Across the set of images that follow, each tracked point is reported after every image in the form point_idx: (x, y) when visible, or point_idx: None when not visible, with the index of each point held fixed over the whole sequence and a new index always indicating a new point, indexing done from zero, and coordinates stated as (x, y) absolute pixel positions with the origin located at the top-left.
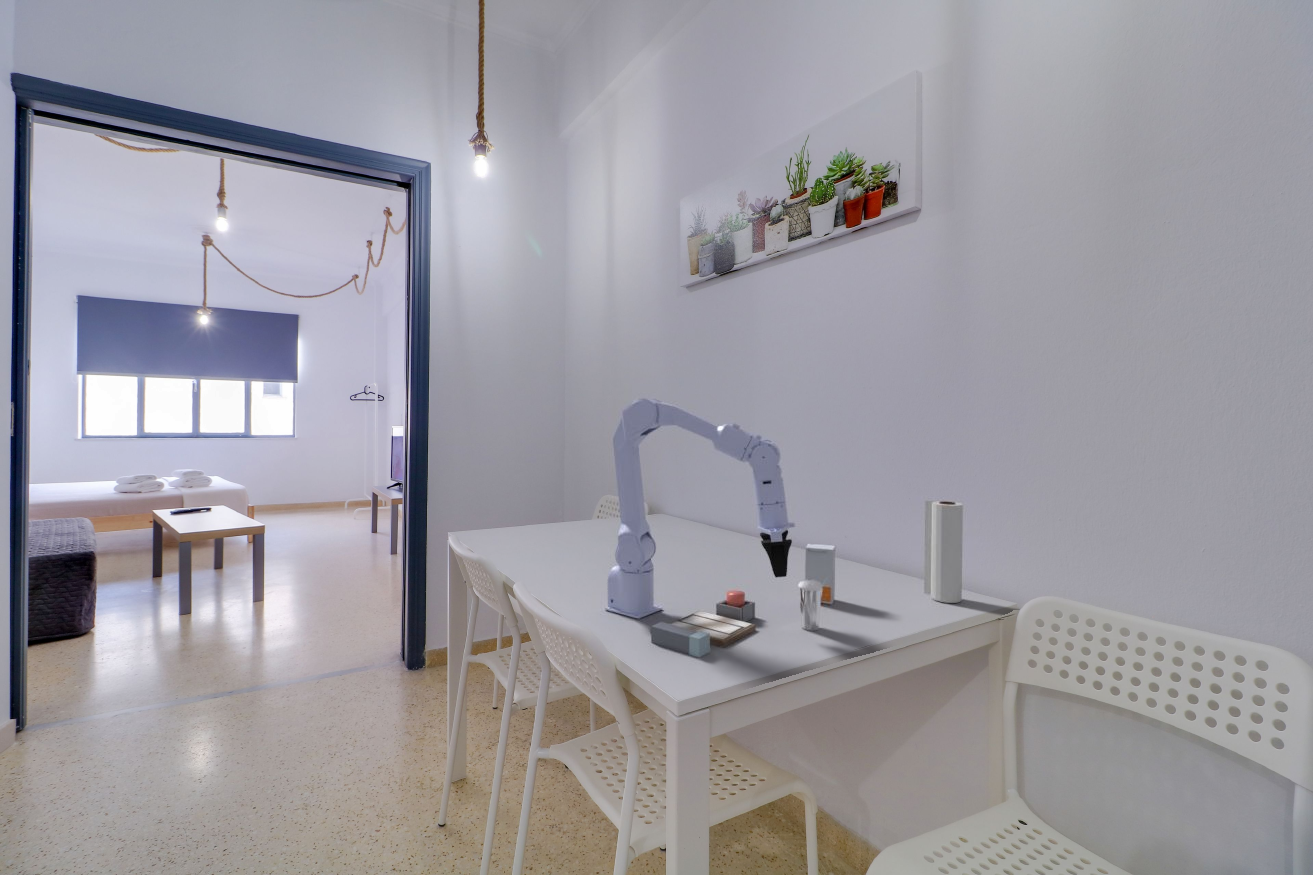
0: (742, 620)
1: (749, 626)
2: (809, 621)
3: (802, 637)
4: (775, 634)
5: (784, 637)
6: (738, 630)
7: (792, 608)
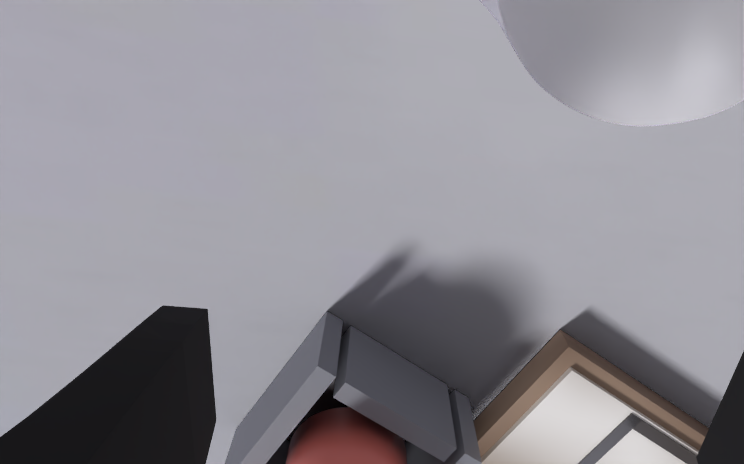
0: (446, 396)
1: (597, 380)
2: None
3: None
4: (645, 225)
5: (703, 178)
6: (682, 445)
7: (95, 30)
